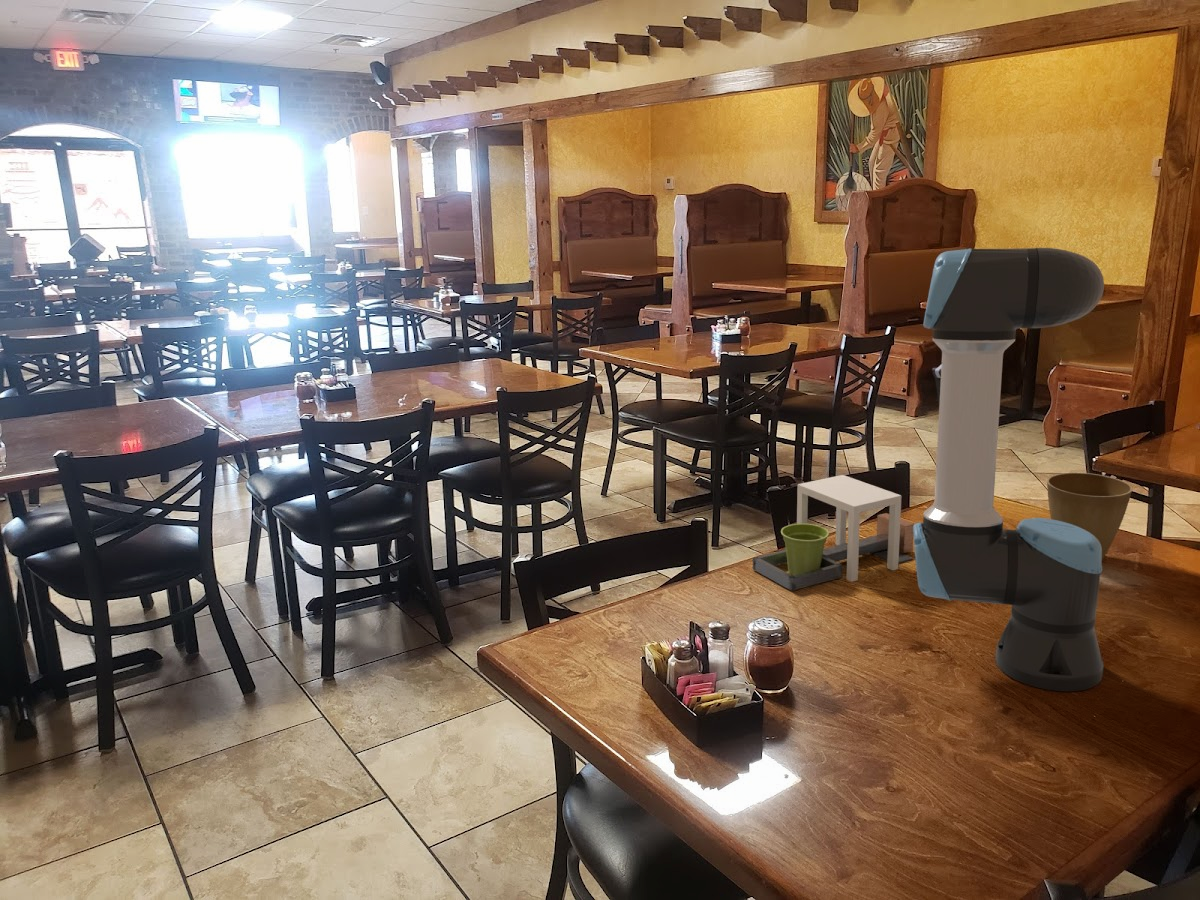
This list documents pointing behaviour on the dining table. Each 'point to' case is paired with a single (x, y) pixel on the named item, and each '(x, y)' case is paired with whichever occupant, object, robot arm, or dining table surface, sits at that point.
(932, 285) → the robot arm
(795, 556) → the plant pot
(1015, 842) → the dining table surface
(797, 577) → the long-handled tray
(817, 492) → the white mini stool
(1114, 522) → the plant pot
